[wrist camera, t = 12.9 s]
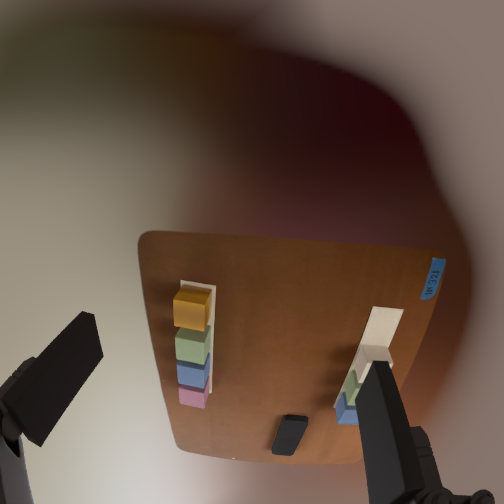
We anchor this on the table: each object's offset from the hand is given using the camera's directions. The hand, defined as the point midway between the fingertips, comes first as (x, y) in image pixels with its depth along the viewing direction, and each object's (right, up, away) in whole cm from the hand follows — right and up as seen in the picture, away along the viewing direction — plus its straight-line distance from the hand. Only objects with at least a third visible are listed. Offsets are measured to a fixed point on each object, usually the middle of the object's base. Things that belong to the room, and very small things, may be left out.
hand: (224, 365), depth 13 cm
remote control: (+9, -33, +41) cm, 53 cm away
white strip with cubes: (+20, -14, +32) cm, 40 cm away
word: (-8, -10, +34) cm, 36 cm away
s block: (-7, -2, +30) cm, 31 cm away
